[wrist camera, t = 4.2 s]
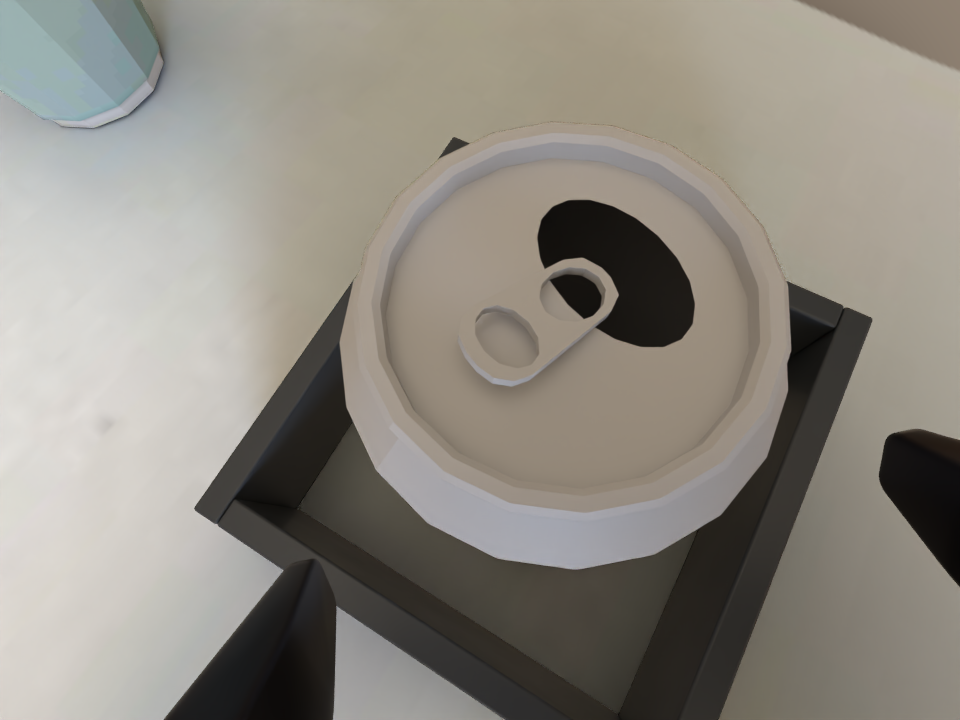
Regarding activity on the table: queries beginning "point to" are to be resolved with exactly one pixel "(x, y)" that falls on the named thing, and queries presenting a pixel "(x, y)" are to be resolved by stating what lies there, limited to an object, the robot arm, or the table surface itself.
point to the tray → (471, 648)
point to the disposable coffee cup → (78, 58)
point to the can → (567, 345)
